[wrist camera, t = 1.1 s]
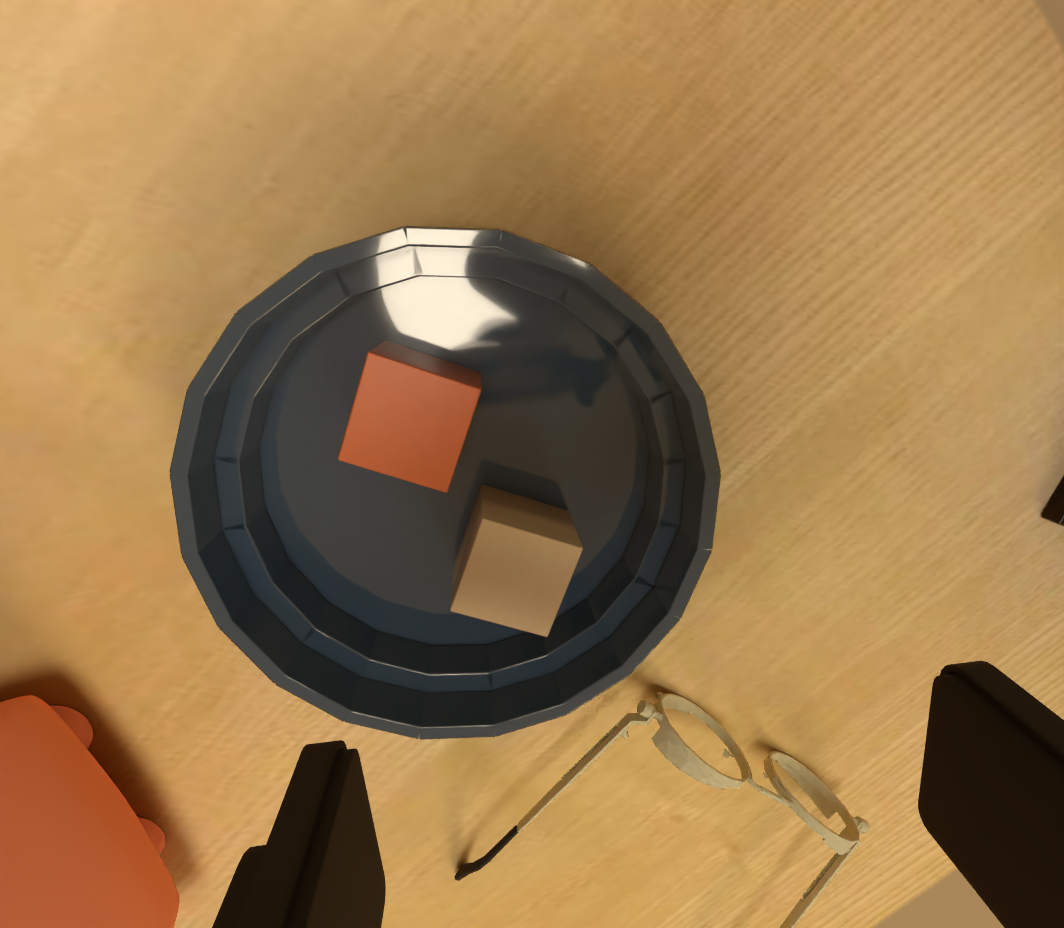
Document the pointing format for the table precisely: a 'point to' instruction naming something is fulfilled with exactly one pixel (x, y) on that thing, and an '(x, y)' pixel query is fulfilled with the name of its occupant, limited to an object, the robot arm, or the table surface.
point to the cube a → (410, 415)
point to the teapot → (72, 831)
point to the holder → (1056, 506)
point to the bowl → (442, 517)
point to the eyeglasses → (705, 773)
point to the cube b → (514, 561)
